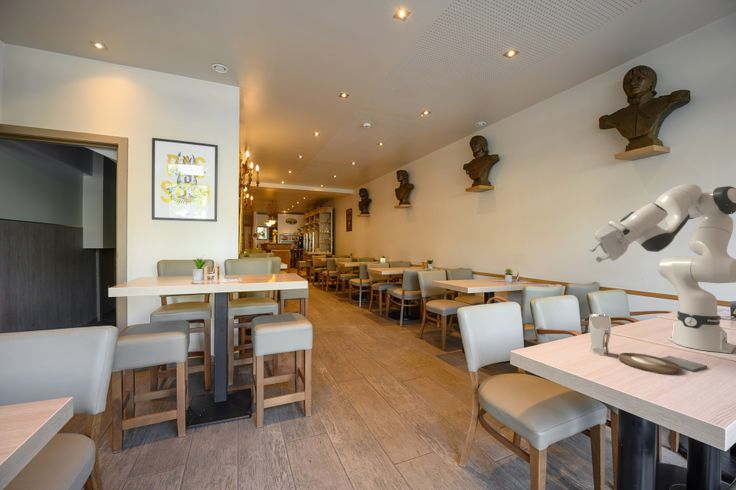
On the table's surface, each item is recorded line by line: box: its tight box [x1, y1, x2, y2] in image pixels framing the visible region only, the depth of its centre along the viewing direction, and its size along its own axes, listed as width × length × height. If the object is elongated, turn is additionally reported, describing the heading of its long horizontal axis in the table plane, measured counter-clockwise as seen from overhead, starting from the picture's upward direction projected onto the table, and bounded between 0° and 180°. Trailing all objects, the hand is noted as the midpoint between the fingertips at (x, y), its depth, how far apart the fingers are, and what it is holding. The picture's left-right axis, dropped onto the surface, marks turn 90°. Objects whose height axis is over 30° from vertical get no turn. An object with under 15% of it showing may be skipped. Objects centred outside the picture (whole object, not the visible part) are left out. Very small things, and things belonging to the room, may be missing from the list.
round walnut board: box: [618, 352, 682, 376], centre depth 105 cm, size 16×16×2 cm
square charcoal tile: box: [661, 355, 708, 373], centre depth 106 cm, size 10×10×1 cm
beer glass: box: [588, 313, 612, 357], centre depth 117 cm, size 7×7×15 cm
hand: (593, 255), depth 127 cm, fingers open, 8 cm apart
